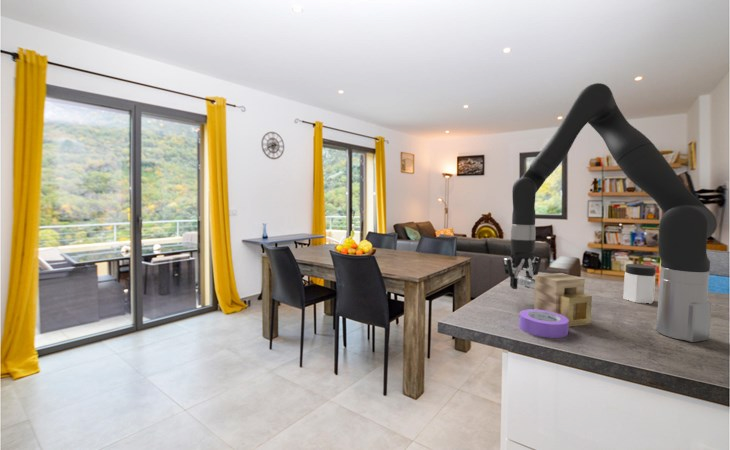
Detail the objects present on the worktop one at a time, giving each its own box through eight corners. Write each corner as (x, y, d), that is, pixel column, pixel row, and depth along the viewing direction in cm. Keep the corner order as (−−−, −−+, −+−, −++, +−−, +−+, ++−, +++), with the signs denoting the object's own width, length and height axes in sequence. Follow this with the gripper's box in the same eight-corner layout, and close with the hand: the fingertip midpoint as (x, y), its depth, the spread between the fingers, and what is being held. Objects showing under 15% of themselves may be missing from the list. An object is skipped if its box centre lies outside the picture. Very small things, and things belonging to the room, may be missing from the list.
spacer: (590, 324, 98) (591, 295, 98) (567, 326, 96) (569, 298, 96) (581, 320, 101) (582, 293, 101) (558, 323, 99) (560, 295, 98)
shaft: (565, 297, 103) (566, 287, 103) (557, 298, 102) (558, 288, 102) (520, 282, 121) (520, 274, 121) (512, 283, 120) (513, 274, 120)
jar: (651, 305, 116) (653, 269, 115) (621, 300, 122) (623, 266, 121) (655, 300, 122) (657, 266, 121) (626, 295, 128) (628, 262, 127)
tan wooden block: (582, 319, 102) (584, 278, 101) (554, 322, 99) (556, 280, 98) (560, 311, 110) (561, 273, 109) (533, 313, 107) (535, 274, 106)
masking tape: (570, 328, 96) (571, 314, 95) (565, 342, 86) (566, 327, 86) (524, 319, 102) (524, 306, 102) (514, 331, 93) (515, 317, 93)
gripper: (512, 239, 112) (510, 292, 113) (549, 238, 116) (546, 289, 117) (497, 237, 119) (495, 286, 120) (532, 236, 123) (530, 284, 124)
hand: (521, 287), depth 119 cm, fingers open, 5 cm apart
